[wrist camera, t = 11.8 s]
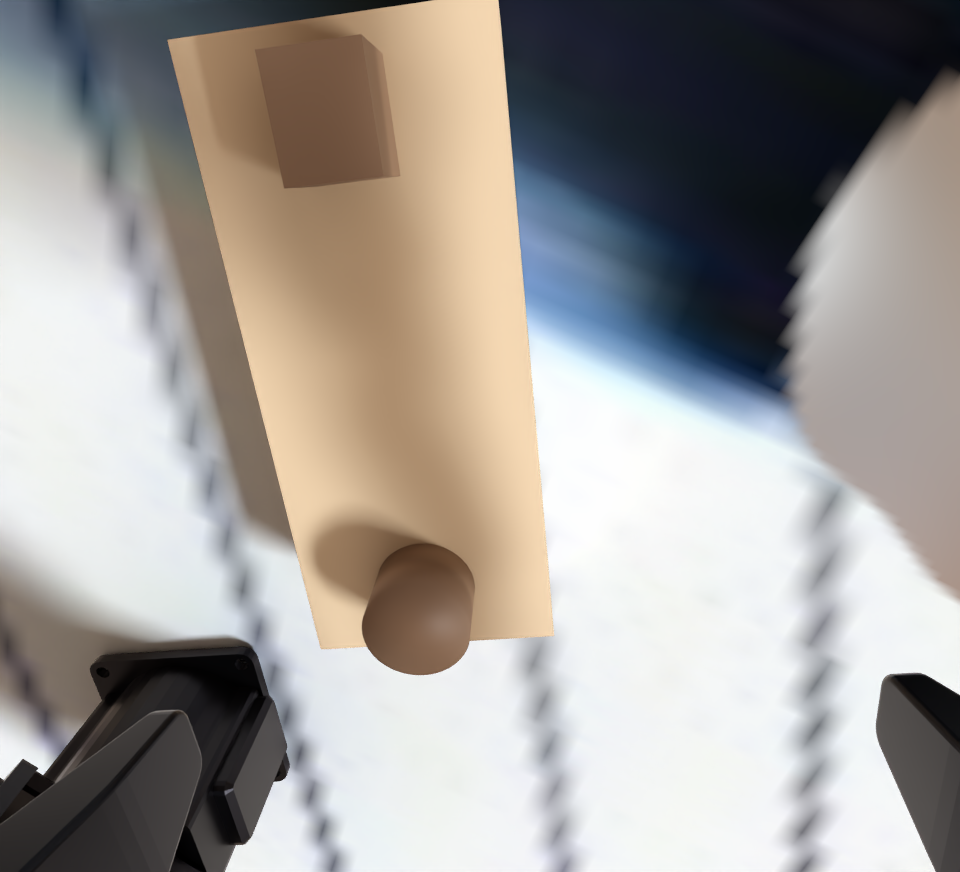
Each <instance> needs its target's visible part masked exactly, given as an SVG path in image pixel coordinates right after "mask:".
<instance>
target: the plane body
mask: <svg viewBox="0 0 960 872" xmlns="http://www.w3.org/2000/svg"><path fill="white" fill-rule="evenodd" d="M167 41H168V45H169V49H170V53H171V57H172V61H173V65H174V69H175V72H176V76H177V80H178V84H179V88H180V92H181V96H182V100H183V104H184V108H185V112H186V116H187V120H188V124H189V128H190V132H191V136H192V140H193V144H194V148H195V152H196V156H197V160H198V164H199V168H200V172H201V176H202V180H203V184H204V187H205V191H206V195H207V199H208V203H209V207H210V211H211V215H212V219H213V223H214V227H215V231H216V235H217V239H218V243H219V247H220V251H221V255H222V259H223V263H224V267H225V271H226V275H227V279H228V283H229V287H230V291H231V295H232V299H233V302H234V306H235V310H236V314H237V318H238V322H239V326H240V330H241V334H242V338H243V342H244V346H245V350H246V354H247V358H248V362H249V366H250V370H251V374H252V378H253V382H254V386H255V390H256V394H257V398H258V402H259V406H260V410H261V414H262V417H263V421H264V425H265V429H266V433H267V437H268V441H269V445H270V449H271V453H272V457H273V461H274V465H275V469H276V473H277V477H278V481H279V485H280V489H281V493H282V497H283V501H284V505H285V509H286V513H287V517H288V521H289V525H290V529H291V533H292V536H293V540H294V544H295V548H296V552H297V556H298V560H299V564H300V568H301V572H302V576H303V580H304V584H305V588H306V592H307V596H308V600H309V604H310V608H311V612H312V616H313V620H314V624H315V628H316V632H317V636H318V640H319V644H320V648H321V649H336V648H354V647H368V649H369V650H370V652H371V653H372V654H373V655H374V657H376V658H377V659H378V660H379V661H380V662H381V663H383V664H384V665H386V666H388V667H389V668H391V669H394V670H396V671H399V672H402V673H406V674H412V675H428V674H434V673H438V672H441V671H444V670H446V669H448V668H450V667H451V666H453V665H454V664H455V663H457V662H458V661H459V660H460V659H461V658H462V656H463V655H464V653H465V652H466V650H467V648H468V645H469V641H475V640H492V639H509V638H526V637H544V636H554V630H553V618H552V606H551V594H550V582H549V569H548V557H547V546H546V535H545V523H544V512H543V500H542V489H541V477H540V466H539V455H538V443H537V432H536V420H535V409H534V397H533V386H532V375H531V363H530V352H529V340H528V329H527V318H526V306H525V295H524V283H523V272H522V260H521V249H520V238H519V226H518V215H517V203H516V192H515V180H514V169H513V158H512V146H511V135H510V123H509V112H508V101H507V89H506V78H505V66H504V55H503V43H502V32H501V22H500V12H499V3H498V0H432V1H426V2H419V3H412V4H405V5H399V6H392V7H385V8H378V9H372V10H365V11H358V12H352V13H345V14H338V15H331V16H325V17H318V18H311V19H304V20H298V21H291V22H284V23H277V24H271V25H264V26H257V27H250V28H244V29H237V30H230V31H223V32H217V33H210V34H203V35H197V36H190V37H183V38H176V39H170V40H167Z"/></svg>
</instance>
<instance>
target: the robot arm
mask: <svg viewBox="0 0 960 872" xmlns="http://www.w3.org/2000/svg"><path fill="white" fill-rule="evenodd" d="M240 659H241V660H244V661H246V663H245V662H242V661H240ZM105 668H106V669H105ZM90 672H91V675H92V677H93V680H94V682H95V685H96V687H97V689H98V692H99V694H100V696H101V699H102V702H101V703H100V704H99V705H98V707H97V708H96V709H95V710H94V712H93V713H92V714H91V716H90V717H89V718H88V719H87V721H86V722H85V723H84V724H83V726H82V727H81V728H80V730H79V731H78V732H77V733H76V735H75V736H74V737H73V738H72V740H71V741H70V742H69V743H68V745H67V746H66V747H65V749H64V750H63V751H62V752H61V754H60V755H59V756H58V757H57V759H56V760H55V761H54V762H53V764H52V765H51V766H50V768H49V769H48V770H47V771H46V773H45V774H44V775H42V774H40V773H38V772H37V771H36V770H37V769H38V768H37V767H36V766H34V765H32V764H31V763H29V762H27V761H26V760H24V759H22V760H21V761H20V762H19V764H18V765H17V766H16V767H15V768H14V769H13V770H12V771H11V772H10V774H9V775H8V776H7V777H6V778H5V779H4V780H3V779H1V778H0V872H225V870H226V867H227V865H228V863H229V860H230V858H231V855H232V853H233V851H234V848H235V846H236V845H244V844H246V843H247V842H248V840H249V839H250V838H251V837H252V834H253V832H254V829H255V827H256V824H257V822H258V819H259V817H260V814H261V812H262V809H263V807H264V804H265V802H266V799H267V797H268V794H269V792H270V789H271V787H272V785H273V782H276V781H282V780H283V779H285V777H286V776H287V773H288V770H289V768H290V763H289V760H288V757H287V753H286V750H287V743H286V740H285V737H284V733H283V730H282V726H281V723H280V720H279V716H278V713H277V710H276V706H275V703H274V701H273V699H272V698H271V697H270V696H269V693H268V690H267V686H266V683H265V679H264V676H263V673H262V669H261V666H260V663H259V659H258V656H257V654H256V653H255V652H254V651H253V650H252V649H250V648H247V647H229V648H213V649H196V650H179V651H162V652H145V653H128V654H111V655H102V656H100V657H99V658H97V660H96V661H95V662H94V663H93V664H92V665H91V668H90ZM876 733H877V738H878V742H879V745H880V747H881V749H882V752H883V754H884V756H885V759H886V761H887V763H888V765H889V768H890V770H891V772H892V774H893V777H894V779H895V781H896V784H897V786H898V788H899V790H900V793H901V795H902V797H903V799H904V802H905V804H906V806H907V808H908V811H909V813H910V815H911V818H912V820H913V822H914V824H915V827H916V829H917V831H918V833H919V836H920V838H921V840H922V843H923V845H924V847H925V849H926V852H927V854H928V856H929V858H930V860H931V862H932V865H933V867H934V869H935V871H936V872H960V695H959V694H957V693H955V692H954V691H952V690H950V689H949V688H947V687H945V686H944V685H942V684H940V683H939V682H937V681H935V680H934V679H932V678H930V677H928V676H926V675H924V674H921V673H902V674H890V675H887V676H886V677H885V678H884V679H883V681H882V685H881V692H880V699H879V706H878V713H877V719H876Z"/></svg>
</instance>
